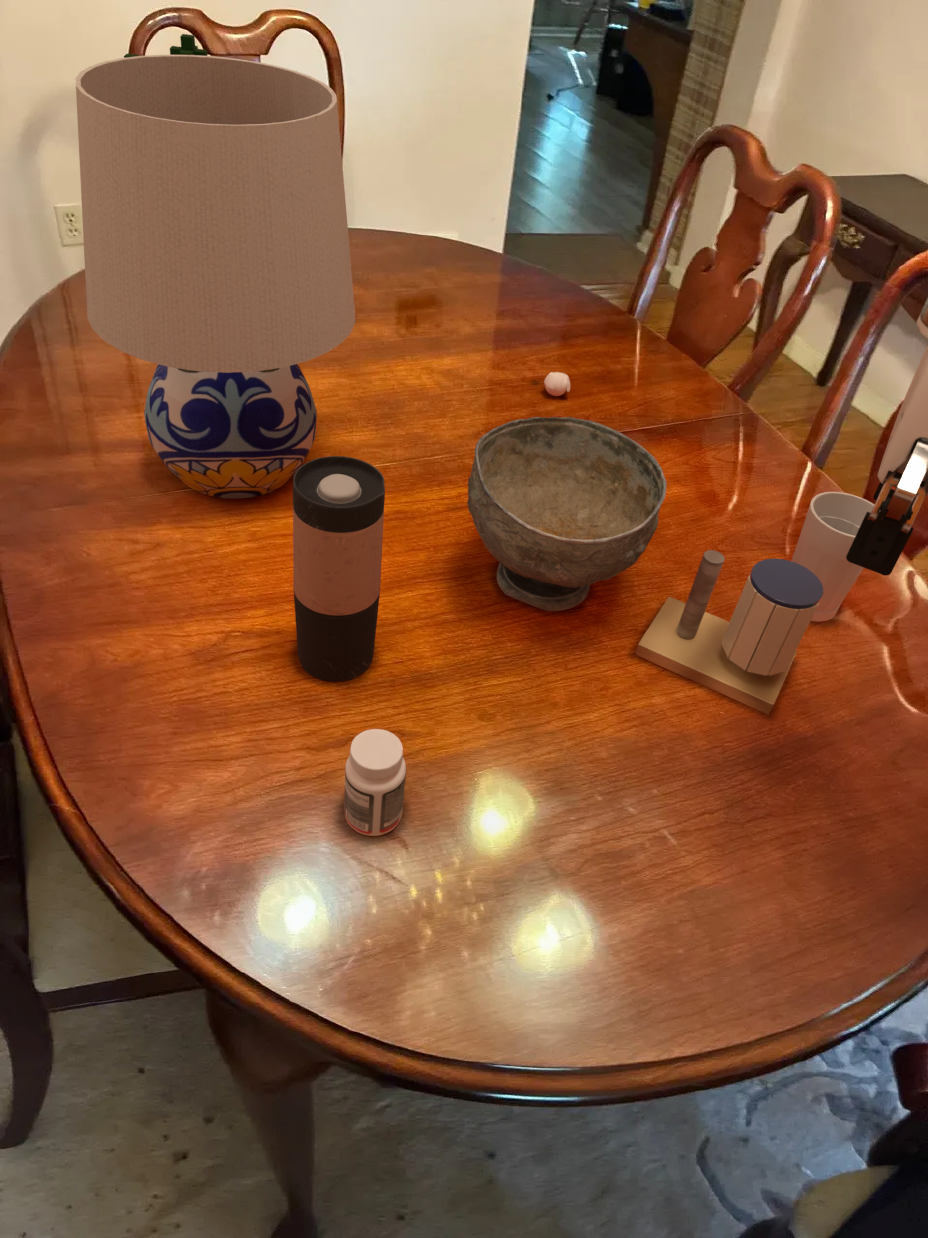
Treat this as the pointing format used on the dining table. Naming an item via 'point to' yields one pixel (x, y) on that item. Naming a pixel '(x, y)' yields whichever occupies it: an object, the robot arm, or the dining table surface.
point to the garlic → (557, 383)
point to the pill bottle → (374, 782)
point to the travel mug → (337, 564)
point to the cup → (831, 546)
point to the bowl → (562, 506)
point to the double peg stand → (705, 644)
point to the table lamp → (216, 253)
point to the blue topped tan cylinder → (771, 616)
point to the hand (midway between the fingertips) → (880, 534)
